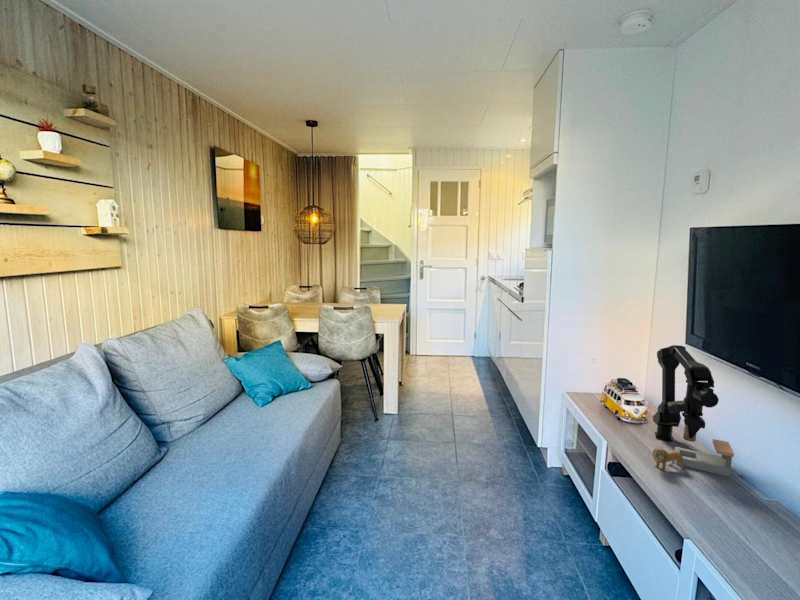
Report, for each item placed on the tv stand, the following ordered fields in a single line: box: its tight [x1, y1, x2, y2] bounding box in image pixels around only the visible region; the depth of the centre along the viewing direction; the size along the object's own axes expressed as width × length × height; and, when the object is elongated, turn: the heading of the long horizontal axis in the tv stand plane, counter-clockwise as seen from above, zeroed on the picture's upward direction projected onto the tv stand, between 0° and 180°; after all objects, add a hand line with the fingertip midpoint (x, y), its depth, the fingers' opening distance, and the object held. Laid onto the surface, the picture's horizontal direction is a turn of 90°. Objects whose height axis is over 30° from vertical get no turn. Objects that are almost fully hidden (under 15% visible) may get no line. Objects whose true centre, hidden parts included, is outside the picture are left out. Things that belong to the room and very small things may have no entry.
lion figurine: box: [652, 446, 685, 472], centre depth 162 cm, size 15×5×9 cm, turn 107°
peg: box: [683, 424, 697, 443], centre depth 167 cm, size 4×4×7 cm
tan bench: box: [712, 438, 735, 469], centre depth 163 cm, size 11×5×9 cm, turn 151°
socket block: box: [674, 446, 732, 478], centre depth 166 cm, size 10×17×3 cm, turn 61°
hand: (689, 435), depth 167 cm, fingers closed on peg, 4 cm apart
